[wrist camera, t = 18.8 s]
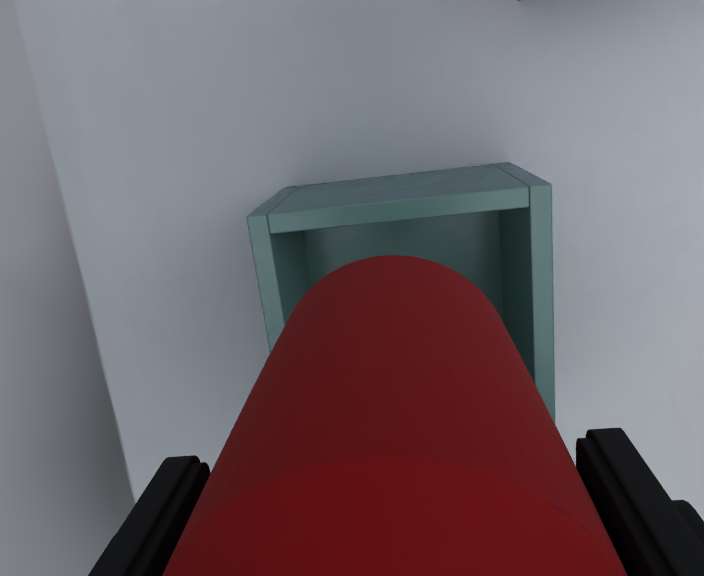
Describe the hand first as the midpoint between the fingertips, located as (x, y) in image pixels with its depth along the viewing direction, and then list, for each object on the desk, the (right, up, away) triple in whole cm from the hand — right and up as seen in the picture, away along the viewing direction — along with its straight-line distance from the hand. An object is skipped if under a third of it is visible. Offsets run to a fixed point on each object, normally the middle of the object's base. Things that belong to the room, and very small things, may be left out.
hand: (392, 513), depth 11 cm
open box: (+3, +4, +24) cm, 24 cm away
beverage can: (+1, +2, +7) cm, 7 cm away
